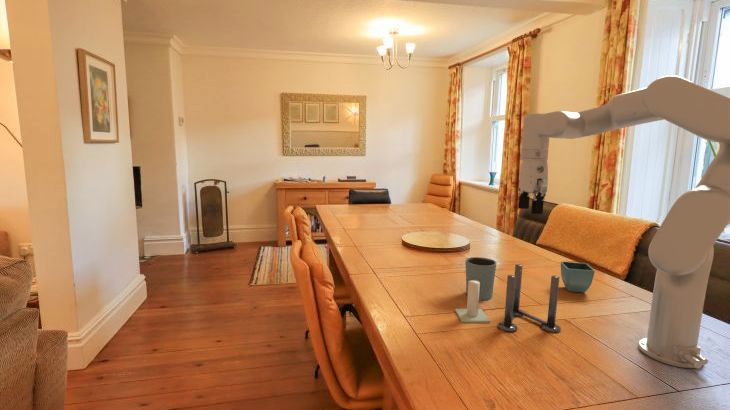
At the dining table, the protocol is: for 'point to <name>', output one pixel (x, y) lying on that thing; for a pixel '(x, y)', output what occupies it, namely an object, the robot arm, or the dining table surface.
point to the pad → (465, 318)
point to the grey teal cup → (481, 275)
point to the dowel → (473, 298)
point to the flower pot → (577, 276)
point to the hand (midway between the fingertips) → (529, 211)
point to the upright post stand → (514, 310)
